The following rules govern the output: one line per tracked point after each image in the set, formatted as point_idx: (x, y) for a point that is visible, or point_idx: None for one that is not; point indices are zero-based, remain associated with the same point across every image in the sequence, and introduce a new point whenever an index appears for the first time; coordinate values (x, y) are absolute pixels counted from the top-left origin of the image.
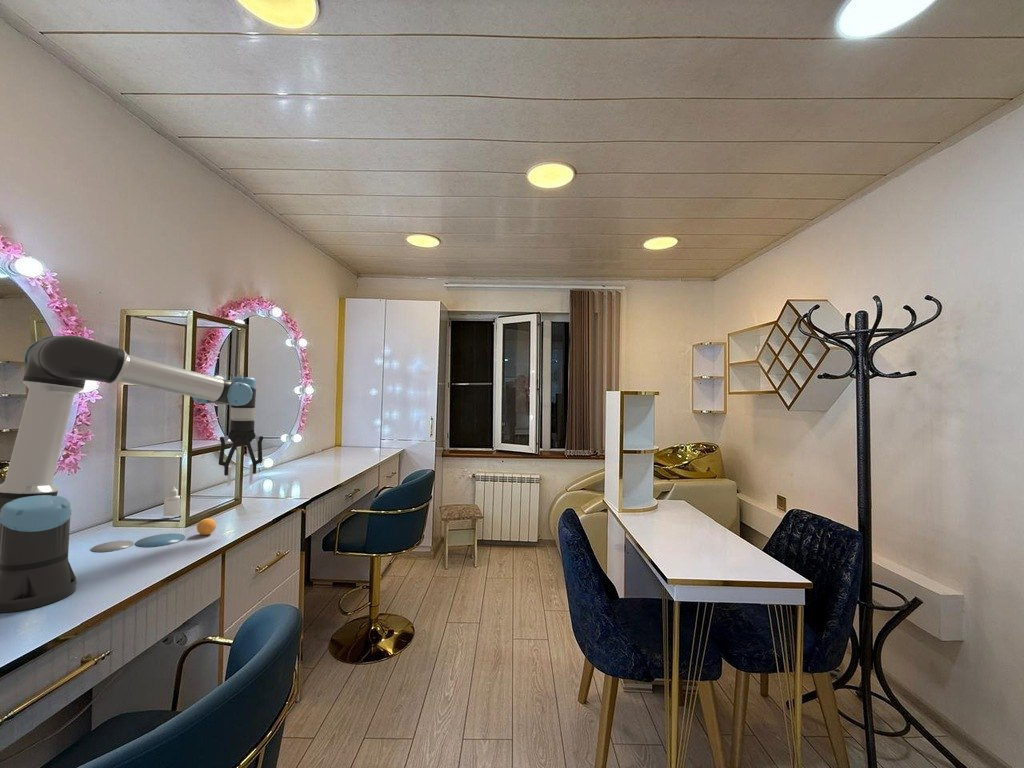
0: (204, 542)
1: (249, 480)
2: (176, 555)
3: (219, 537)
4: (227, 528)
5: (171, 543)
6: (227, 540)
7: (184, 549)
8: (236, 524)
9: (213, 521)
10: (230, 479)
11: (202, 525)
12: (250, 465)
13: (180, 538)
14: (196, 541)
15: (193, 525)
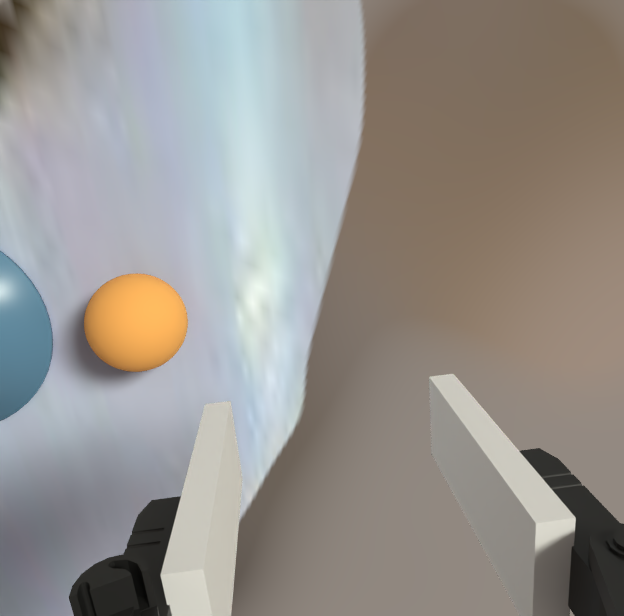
0: (166, 435)
1: (437, 406)
2: (89, 563)
3: (222, 380)
4: (244, 225)
5: (15, 411)
6: (264, 439)
7: (100, 503)
8: (287, 152)
9: (169, 342)
10: (238, 521)
11: (118, 368)
12: (531, 609)
13: (34, 346)
14: (125, 407)
15: (27, 66)
